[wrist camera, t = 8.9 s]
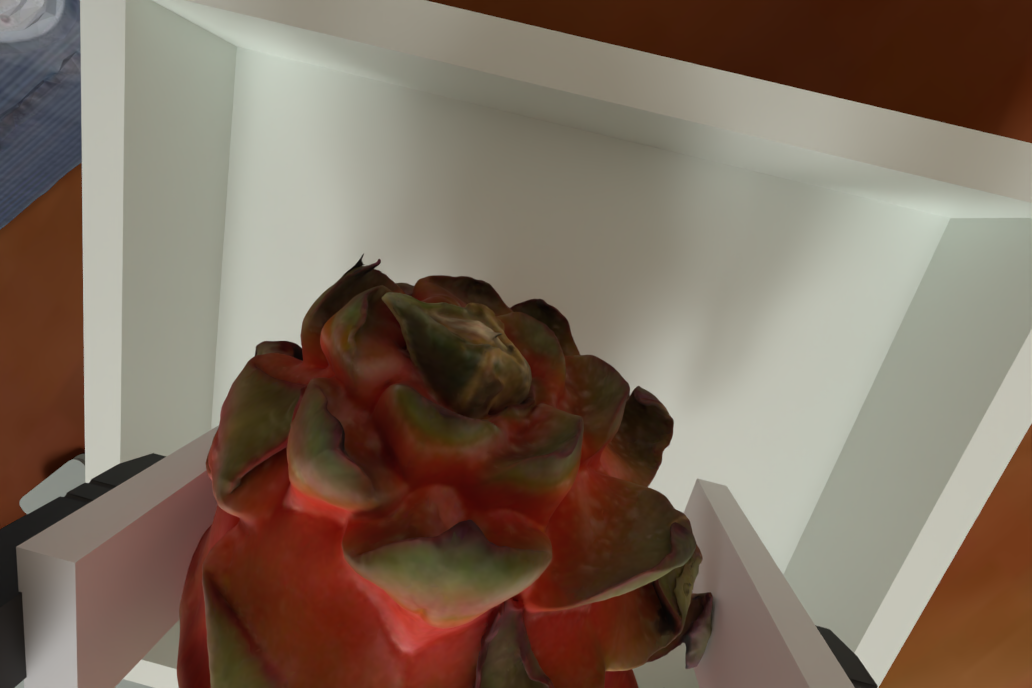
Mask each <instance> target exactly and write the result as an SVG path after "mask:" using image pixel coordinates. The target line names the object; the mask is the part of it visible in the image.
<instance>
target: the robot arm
mask: <svg viewBox="0 0 1032 688" xmlns="http://www.w3.org/2000/svg"><path fill="white" fill-rule="evenodd" d="M218 427H219V425H218V426H217V427H215V428H213V429H212V430H210V431H208V432H207V433H205V434H203V435H202V436H200V437H198V438H197V439H195V440H193V441H192V442H190V443H188V444H187V445H185V446H183V447H182V448H180V449H178V450H177V451H175V452H173V453H172V454H170V455H168V456H167V457H166V456H162V455H159V454H155V453H152V454H149V455H145V456H142V457H139V458H136V459H133V460H129V461H126V462H123V463H120V464H118V465H116V466H114V467H112V468H110V469H109V470H107V471H105V472H103V473H101V474H100V475H98V476H96V477H94V478H92V479H91V481H90V482H89V483H83V484H81V485H80V486H78V487H76V488H74V489H72V490H71V491H69V492H67V493H66V495H65V496H64V497H61V496H60V497H58V498H56V499H54V500H52V501H51V502H49V503H47V504H45V505H43V506H42V507H40V508H38V509H36V510H34V511H33V512H31V513H29V514H27V515H25V516H23V517H22V518H20V519H18V520H16V521H14V522H13V523H11V524H9V525H7V526H5V527H4V528H2V529H0V688H15V687H16V686H17V685H18V684H19V683H20V682H22V681H23V680H24V688H115V687H116V686H117V685H118V684H119V682H120V681H121V680H122V679H123V678H124V677H125V676H126V675H127V674H128V673H129V672H130V671H131V670H132V669H133V668H134V667H135V666H136V665H137V664H138V663H139V661H140V660H141V659H142V658H143V657H144V656H145V655H146V654H147V653H148V652H149V651H150V650H151V649H152V648H153V647H154V646H155V645H156V644H157V643H158V641H159V640H160V639H161V638H162V637H163V636H164V635H165V634H166V633H167V632H168V631H169V630H170V629H171V628H172V627H173V626H174V625H175V624H176V623H177V622H178V620H179V619H180V618H179V607H180V601H181V596H182V592H183V587H184V583H185V579H186V575H187V571H188V568H189V565H190V562H191V559H192V556H193V554H194V552H195V550H196V548H197V545H198V543H199V541H200V539H201V537H202V535H203V534H204V533H205V531H206V530H207V529H208V528H209V527H210V526H211V525H212V523H213V519H214V515H215V512H216V508H217V501H216V499H215V497H214V494H213V488H212V480H211V479H210V477H209V476H208V473H207V470H206V459H207V456H208V453H209V450H210V447H211V445H212V441H213V438H214V436H215V434H216V432H217V429H218ZM684 514H685V515H686V517H687V518H688V519H689V520H690V523H691V527H692V531H693V535H694V537H695V540H696V544H697V546H698V547H699V549H700V551H701V553H702V557H703V560H702V562H701V564H700V565H699V574H698V575H697V577H696V579H695V582H694V587H693V590H692V591H693V592H692V593H696V594H699V593H706V592H711V593H712V595H713V602H712V612H711V627H712V633H711V636H710V638H709V640H708V643H707V647H706V650H705V652H704V655H703V657H702V658H701V660H700V662H699V664H698V666H697V667H694V671H695V675H696V678H697V681H698V685H699V688H877V687H878V686H877V684H876V683H875V681H874V680H873V678H872V677H871V675H870V674H869V672H868V671H867V670H866V668H865V667H864V665H863V664H862V662H861V661H860V659H859V658H858V656H857V655H856V654H855V653H853V652H852V651H851V650H850V649H849V648H848V647H847V646H846V645H845V644H844V643H843V642H842V641H841V640H840V639H839V638H838V637H837V636H836V635H835V634H834V633H833V632H832V631H831V630H830V629H827V628H823V627H820V626H816V625H815V624H814V623H813V621H812V620H811V618H810V616H809V615H808V613H807V612H806V610H805V608H804V607H803V605H802V604H801V602H800V601H799V599H798V597H797V596H796V594H795V593H794V591H793V590H792V588H791V586H790V585H789V583H788V582H787V580H786V579H785V577H784V575H783V574H782V572H781V571H780V569H779V568H778V566H777V564H776V563H775V561H774V560H773V558H772V557H771V555H770V553H769V552H768V550H767V549H766V547H765V545H764V544H763V542H762V541H761V539H760V538H759V536H758V534H757V533H756V531H755V530H754V528H753V527H752V525H751V523H750V522H749V520H748V519H747V517H746V516H745V514H744V512H743V511H742V509H741V508H740V506H739V505H738V503H737V501H736V500H735V498H734V497H733V495H732V493H731V492H730V490H729V489H728V487H727V486H725V485H721V484H717V483H713V482H709V481H705V480H702V479H698V478H697V480H696V482H695V485H694V488H693V490H692V493H691V495H690V498H689V501H688V503H687V506H686V508H685V511H684Z"/></svg>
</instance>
